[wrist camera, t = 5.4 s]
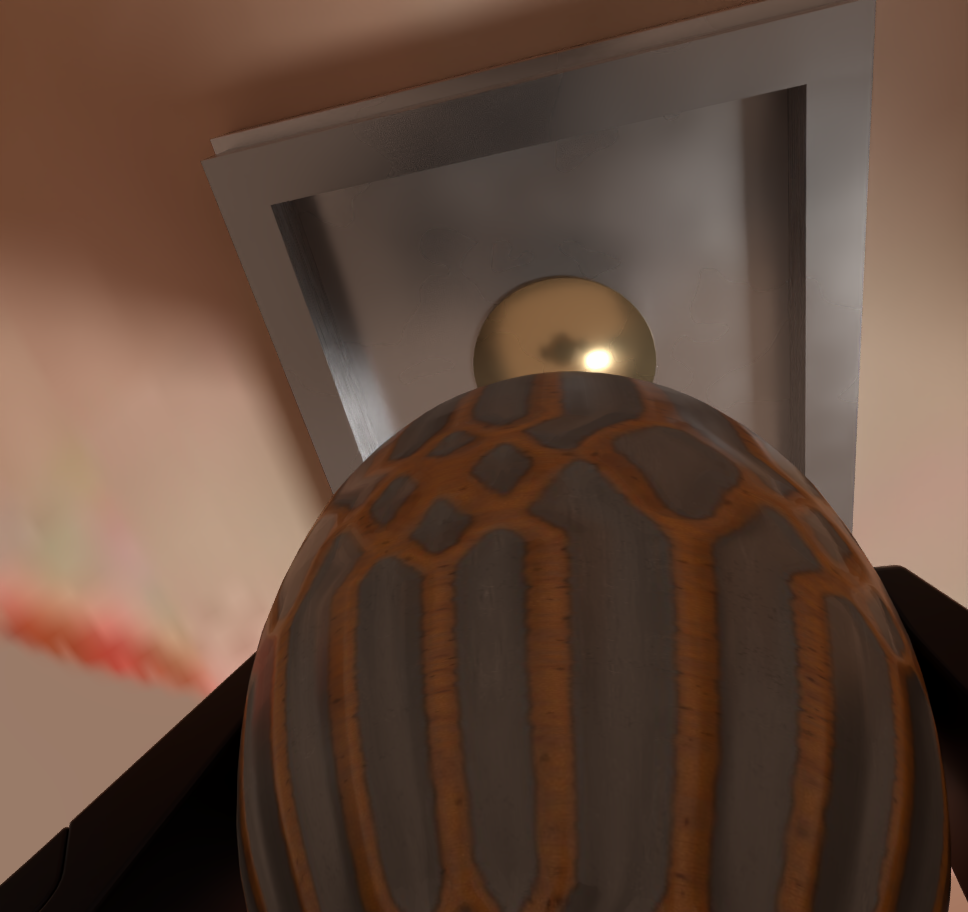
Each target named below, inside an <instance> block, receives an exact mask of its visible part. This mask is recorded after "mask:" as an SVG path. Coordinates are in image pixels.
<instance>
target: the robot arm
mask: <svg viewBox="0 0 968 912" xmlns="http://www.w3.org/2000/svg"><path fill="white" fill-rule="evenodd" d="M873 568H874V569H875V571H876V573H877V574H878V576H879V577H880V579H881V581H882V583H883V585H884V587H885V589H886V591H887V593H888V595H889V597H890V599H891V601H892V603H893V605H894V607H895V608H896V610H897V612H898V615H899V617H900V619H901V621H902V623H903V625H904V627H905V629H906V632H907V634H908V636H909V638H910V641H911V644H912V646H913V649H914V652H915V655H916V658H917V661H918V663H919V666H920V669H921V672H922V675H923V678H924V682H925V685H926V689H927V692H928V696H929V700H930V704H931V708H932V712H933V716H934V721H935V725H936V729H937V733H938V738H939V744H940V750H941V756H942V762H943V769H944V775H945V781H946V787H947V799H948V811H949V822H950V835H951V867H952V869H953V872H954V874H955V876H956V878H957V880H958V882H959V884H960V887H961V889H962V891H963V893H964V895H965V897H966V899H967V901H968V609H967V608H965V607H964V606H962V605H961V604H959V603H958V602H956V601H955V600H953V599H952V598H950V597H949V596H947V595H946V594H944V593H943V592H941V591H939V590H938V589H936V588H935V587H933V586H932V585H930V584H929V583H927V582H926V581H924V580H923V579H921V578H920V577H918V576H917V575H915V574H914V573H912V572H911V571H909V570H908V569H906V568H904V567H902V566H899V565H891V566H881V567H873ZM256 652H257V651H256ZM256 652H255V653H254V654H253V655H252V656H251V657H250V658H249V659H247V660H246V661H245V662H244V663H243V664H242V665H241V666H240V667H239V668H238V669H237V670H236V671H234V672H233V673H232V674H231V675H230V676H229V677H228V678H227V679H226V680H225V681H224V682H222V683H221V684H220V685H219V686H218V687H217V688H216V689H215V690H214V691H213V692H212V693H210V694H209V695H208V696H207V697H206V698H205V699H204V700H203V701H202V702H201V703H200V704H198V705H197V706H196V707H195V708H194V709H193V710H192V711H191V712H190V713H189V714H188V715H186V716H185V717H184V718H183V719H182V720H181V721H180V722H179V723H178V724H177V725H176V726H175V727H173V728H172V729H171V730H170V731H169V732H168V733H167V734H166V735H165V736H164V737H163V738H161V739H160V740H159V741H158V742H157V743H156V744H155V745H154V746H153V747H152V748H151V749H149V750H148V751H147V752H146V753H145V754H144V755H143V756H142V757H141V758H140V759H139V760H137V761H136V762H135V763H134V764H133V765H132V766H131V767H130V768H129V769H128V770H127V771H125V772H124V773H123V774H122V775H121V776H120V777H119V778H118V779H117V780H116V781H115V782H113V783H112V784H111V785H110V786H109V787H108V788H107V789H106V790H105V791H104V792H103V793H101V794H100V795H99V796H98V797H97V798H96V799H95V800H94V801H93V802H92V803H91V804H89V805H88V806H87V807H86V808H85V809H84V810H83V811H82V812H81V813H80V814H79V815H77V816H76V818H74V819H73V820H72V821H71V822H70V825H69V827H65V828H63V829H62V830H61V831H60V832H59V833H58V834H57V835H56V836H55V837H53V838H52V839H51V840H50V841H49V842H48V843H47V844H46V845H45V846H44V847H43V848H41V849H40V850H39V851H38V852H37V853H36V854H35V855H34V856H33V857H32V858H30V859H29V860H28V861H27V862H26V863H25V864H24V865H22V866H21V867H20V868H19V869H18V870H17V871H16V872H15V873H13V874H12V875H11V876H10V877H9V878H8V879H7V880H6V881H5V882H3V883H2V884H1V885H0V912H247V907H246V902H245V897H244V891H243V886H242V881H241V875H240V866H239V854H238V840H237V825H236V821H237V775H238V760H239V749H240V738H241V729H242V723H243V716H244V710H245V704H246V697H247V691H248V685H249V679H250V675H251V671H252V668H253V664H254V660H255V656H256Z"/></svg>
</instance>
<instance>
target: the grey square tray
mask: <svg viewBox="0 0 968 912" xmlns="http://www.w3.org/2000/svg"><path fill="white" fill-rule="evenodd" d="M875 15H876V0H758V1H754V2H750V3H746V4H742V5H738V6H734V7H730V8H726V9H722V10H718V11H714V12H710V13H706V14H702V15H698V16H694V17H690V18H686V19H682V20H678V21H674V22H670V23H666V24H662V25H658V26H654V27H650V28H646V29H642V30H638V31H634V32H630V33H626V34H622V35H618V36H614V37H610V38H606V39H602V40H598V41H594V42H590V43H586V44H582V45H578V46H574V47H570V48H566V49H562V50H558V51H554V52H550V53H546V54H542V55H538V56H534V57H530V58H526V59H522V60H518V61H514V62H510V63H506V64H502V65H498V66H494V67H490V68H486V69H482V70H478V71H474V72H470V73H466V74H462V75H458V76H454V77H450V78H446V79H442V80H438V81H435V82H431V83H427V84H423V85H419V86H415V87H411V88H407V89H403V90H399V91H395V92H391V93H387V94H383V95H379V96H375V97H371V98H367V99H363V100H359V101H355V102H351V103H347V104H343V105H339V106H335V107H331V108H327V109H323V110H319V111H315V112H311V113H307V114H303V115H299V116H295V117H291V118H287V119H283V120H279V121H275V122H271V123H267V124H263V125H259V126H255V127H251V128H247V129H243V130H239V131H235V132H231V133H227V134H224V135H221V136H218V137H216V138H213V139H210V141H211V144H212V146H213V149H214V151H215V154H216V155H214V156H211V157H209V158H207V159H204V160H202V161H201V164H202V166H203V169H204V171H205V174H206V176H207V179H208V181H209V184H210V186H211V189H212V191H213V194H214V196H215V199H216V201H217V204H218V206H219V209H220V211H221V214H222V216H223V219H224V221H225V224H226V226H227V229H228V231H229V234H230V236H231V239H232V241H233V244H234V246H235V249H236V252H237V254H238V257H239V259H240V262H241V264H242V267H243V269H244V272H245V274H246V277H247V279H248V282H249V284H250V287H251V289H252V292H253V294H254V297H255V299H256V302H257V304H258V307H259V309H260V312H261V314H262V317H263V319H264V322H265V324H266V327H267V329H268V332H269V334H270V337H271V339H272V342H273V344H274V347H275V349H276V352H277V355H278V357H279V360H280V362H281V365H282V367H283V370H284V372H285V375H286V377H287V380H288V382H289V385H290V387H291V390H292V392H293V395H294V397H295V400H296V402H297V405H298V407H299V410H300V412H301V415H302V417H303V420H304V422H305V425H306V427H307V430H308V432H309V435H310V437H311V440H312V442H313V445H314V447H315V450H316V452H317V455H318V457H319V460H320V463H321V465H322V468H323V470H324V473H325V475H326V478H327V480H328V483H329V485H330V488H331V490H332V493H333V495H334V494H335V492H336V491H337V490H338V489H339V488H340V487H341V485H342V484H343V483H344V482H345V481H346V479H347V478H348V477H349V476H350V475H351V474H352V473H353V472H354V471H355V470H356V469H357V468H358V467H359V466H360V465H361V464H362V463H363V462H364V461H365V460H366V459H367V458H368V457H369V456H370V455H371V454H372V453H373V452H374V451H375V450H376V449H377V448H378V447H379V446H380V445H382V444H383V443H384V442H385V441H387V440H388V439H389V438H390V437H392V436H393V435H394V434H395V433H397V432H398V431H400V430H401V429H402V428H404V427H405V426H407V425H408V424H409V423H411V422H412V421H414V420H415V419H417V418H418V417H420V416H421V415H423V414H424V413H426V412H427V411H429V410H431V409H433V408H434V407H436V406H438V405H440V404H441V403H443V402H446V401H448V400H450V399H452V398H454V397H456V396H458V395H461V394H463V393H466V392H468V391H471V390H474V389H476V388H479V387H482V386H486V385H489V384H492V383H496V382H499V381H502V380H506V379H510V378H515V377H519V376H524V375H530V374H537V373H545V372H559V371H585V372H599V373H607V374H614V375H621V376H625V377H630V378H634V379H639V380H644V381H648V382H652V383H655V384H658V385H662V386H665V387H668V388H671V389H674V390H676V391H679V392H682V393H684V394H687V395H689V396H692V397H694V398H696V399H698V400H700V401H702V402H704V403H706V404H708V405H710V406H712V407H713V408H715V409H717V410H719V411H720V412H722V413H724V414H725V415H727V416H729V417H731V418H732V419H734V420H736V421H737V422H739V423H741V424H743V425H744V426H746V427H747V428H748V429H750V430H751V431H753V432H754V433H756V434H757V435H758V436H760V437H761V438H762V439H764V440H765V441H766V442H767V443H768V444H770V445H771V446H772V447H773V448H774V449H775V450H777V451H778V452H779V453H780V454H781V455H783V456H784V457H785V458H786V459H787V460H788V461H789V462H791V463H792V464H793V465H794V466H795V467H796V468H798V469H799V470H800V471H801V472H802V473H803V474H804V475H805V476H806V477H807V478H808V479H809V480H810V481H811V482H812V483H813V484H814V486H815V487H816V488H817V489H818V491H819V492H820V493H821V494H822V496H823V497H824V498H825V499H826V501H827V502H828V503H829V504H830V506H831V507H832V508H833V510H834V511H835V512H836V513H837V515H838V516H839V517H840V519H841V520H842V521H843V522H844V524H845V525H846V526H847V528H848V529H849V531H850V532H851V534H852V526H853V504H854V482H855V459H856V437H857V415H858V393H859V370H860V348H861V326H862V304H863V282H864V259H865V237H866V215H867V193H868V170H869V148H870V126H871V104H872V81H873V59H874V37H875Z"/></svg>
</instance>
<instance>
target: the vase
mask: <svg viewBox="0 0 968 912" xmlns="http://www.w3.org/2000/svg"><path fill="white" fill-rule="evenodd" d="M236 825H237V840H238V854H239V866H240V875H241V881H242V886H243V891H244V897H245V902H246V907H247V912H948V909H949V901H950V890H951V835H950V822H949V811H948V799H947V787H946V781H945V775H944V769H943V762H942V756H941V750H940V744H939V738H938V733H937V729H936V725H935V721H934V716H933V712H932V708H931V704H930V700H929V696H928V692H927V689H926V685H925V682H924V678H923V675H922V672H921V669H920V666H919V663H918V661H917V658H916V655H915V652H914V649H913V646H912V644H911V641H910V638H909V636H908V634H907V632H906V629H905V627H904V625H903V623H902V621H901V619H900V617H899V615H898V612H897V610H896V608H895V607H894V605H893V603H892V601H891V599H890V597H889V595H888V593H887V591H886V589H885V587H884V585H883V583H882V581H881V579H880V577H879V576H878V574H877V573H876V571H875V569H874V568H873V566H872V565H871V563H870V562H869V560H868V559H867V557H866V555H865V554H864V552H863V551H862V549H861V548H860V546H859V544H858V543H857V541H856V540H855V538H854V537H853V535H852V534H851V532H850V531H849V529H848V528H847V526H846V525H845V524H844V522H843V521H842V520H841V519H840V517H839V516H838V515H837V513H836V512H835V511H834V510H833V508H832V507H831V506H830V504H829V503H828V502H827V501H826V499H825V498H824V497H823V496H822V494H821V493H820V492H819V491H818V489H817V488H816V487H815V486H814V484H813V483H812V482H811V481H810V480H809V479H808V478H807V477H806V476H805V475H804V474H803V473H802V472H801V471H800V470H799V469H798V468H796V467H795V466H794V465H793V464H792V463H791V462H789V461H788V460H787V459H786V458H785V457H784V456H783V455H781V454H780V453H779V452H778V451H777V450H775V449H774V448H773V447H772V446H771V445H770V444H768V443H767V442H766V441H765V440H764V439H762V438H761V437H760V436H758V435H757V434H756V433H754V432H753V431H751V430H750V429H748V428H747V427H746V426H744V425H743V424H741V423H739V422H737V421H736V420H734V419H732V418H731V417H729V416H727V415H725V414H724V413H722V412H720V411H719V410H717V409H715V408H713V407H712V406H710V405H708V404H706V403H704V402H702V401H700V400H698V399H696V398H694V397H692V396H689V395H687V394H684V393H682V392H679V391H676V390H674V389H671V388H668V387H665V386H662V385H658V384H655V383H652V382H648V381H644V380H639V379H634V378H630V377H625V376H621V375H614V374H607V373H599V372H585V371H559V372H545V373H537V374H530V375H524V376H519V377H515V378H510V379H506V380H502V381H499V382H496V383H492V384H489V385H486V386H482V387H479V388H476V389H474V390H471V391H468V392H466V393H463V394H461V395H458V396H456V397H454V398H452V399H450V400H448V401H446V402H443V403H441V404H440V405H438V406H436V407H434V408H433V409H431V410H429V411H427V412H426V413H424V414H423V415H421V416H420V417H418V418H417V419H415V420H414V421H412V422H411V423H409V424H408V425H407V426H405V427H404V428H402V429H401V430H400V431H398V432H397V433H395V434H394V435H393V436H392V437H390V438H389V439H388V440H387V441H385V442H384V443H383V444H382V445H380V446H379V447H378V448H377V449H376V450H375V451H374V452H373V453H372V454H371V455H370V456H369V457H368V458H367V459H366V460H365V461H364V462H363V463H362V464H361V465H360V466H359V467H358V468H357V469H356V470H355V471H354V472H353V473H352V474H351V475H350V476H349V477H348V478H347V479H346V481H345V482H344V483H343V484H342V485H341V487H340V488H339V489H338V490H337V491H336V492H335V494H334V495H333V496H332V498H331V499H330V501H329V502H328V504H327V505H326V507H325V508H324V509H323V511H322V513H321V514H320V516H319V517H318V519H317V520H316V522H315V524H314V525H313V527H312V528H311V530H310V531H309V533H308V534H307V536H306V538H305V540H304V542H303V543H302V545H301V547H300V549H299V551H298V553H297V555H296V556H295V558H294V560H293V562H292V564H291V566H290V568H289V570H288V572H287V574H286V576H285V578H284V580H283V582H282V584H281V586H280V589H279V591H278V594H277V596H276V598H275V601H274V603H273V606H272V608H271V611H270V613H269V616H268V618H267V621H266V623H265V626H264V628H263V631H262V634H261V638H260V641H259V645H258V648H257V652H256V656H255V660H254V664H253V668H252V671H251V675H250V679H249V685H248V691H247V697H246V704H245V710H244V716H243V723H242V729H241V738H240V749H239V760H238V775H237V821H236Z"/></svg>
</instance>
